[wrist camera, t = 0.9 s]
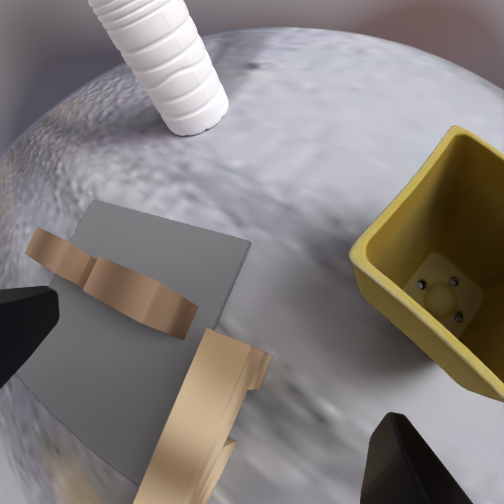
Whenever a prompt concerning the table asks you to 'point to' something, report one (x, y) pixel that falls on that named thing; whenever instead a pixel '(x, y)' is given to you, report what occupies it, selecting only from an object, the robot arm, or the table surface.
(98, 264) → the walnut slotted board
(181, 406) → the beech curved plate
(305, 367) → the table surface
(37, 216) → the table surface
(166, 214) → the table surface
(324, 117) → the table surface
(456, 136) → the flower pot
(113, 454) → the mat
